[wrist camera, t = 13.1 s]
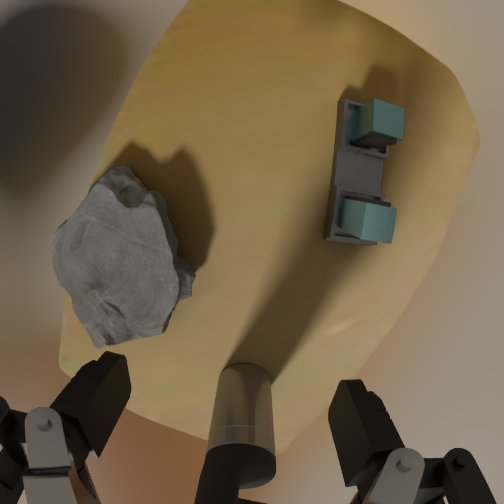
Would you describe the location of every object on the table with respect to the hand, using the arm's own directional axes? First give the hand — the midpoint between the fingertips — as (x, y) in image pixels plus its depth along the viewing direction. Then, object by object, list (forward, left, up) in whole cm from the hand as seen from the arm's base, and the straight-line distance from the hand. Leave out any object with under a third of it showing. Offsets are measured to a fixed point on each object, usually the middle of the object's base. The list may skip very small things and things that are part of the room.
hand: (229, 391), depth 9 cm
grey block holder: (+11, -14, -30) cm, 35 cm away
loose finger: (+5, -14, -28) cm, 32 cm away
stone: (-5, +19, -31) cm, 36 cm away
